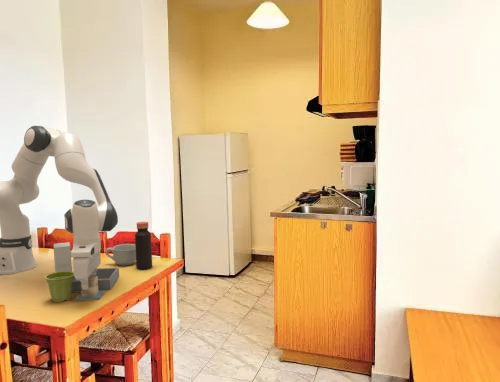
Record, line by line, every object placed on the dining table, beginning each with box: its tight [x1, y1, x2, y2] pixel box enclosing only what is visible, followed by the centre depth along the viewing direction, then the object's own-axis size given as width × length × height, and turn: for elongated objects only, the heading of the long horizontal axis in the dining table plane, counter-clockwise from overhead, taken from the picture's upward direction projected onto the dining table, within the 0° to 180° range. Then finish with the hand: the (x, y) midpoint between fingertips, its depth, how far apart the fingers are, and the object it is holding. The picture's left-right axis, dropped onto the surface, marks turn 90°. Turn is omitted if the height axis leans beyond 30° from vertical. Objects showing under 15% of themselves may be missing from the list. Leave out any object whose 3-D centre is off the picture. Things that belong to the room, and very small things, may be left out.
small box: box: [53, 241, 73, 273], centre depth 174 cm, size 8×6×13 cm
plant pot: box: [44, 271, 74, 303], centre depth 147 cm, size 9×9×9 cm
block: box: [81, 276, 99, 297], centre depth 149 cm, size 4×4×6 cm
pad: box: [74, 290, 105, 302], centre depth 149 cm, size 8×8×1 cm
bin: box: [71, 267, 120, 293], centre depth 162 cm, size 16×16×4 cm
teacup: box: [104, 243, 136, 267], centre depth 190 cm, size 14×11×8 cm
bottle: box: [134, 221, 153, 271], centre depth 182 cm, size 7×7×20 cm
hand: (89, 284), depth 149 cm, fingers open, 8 cm apart
